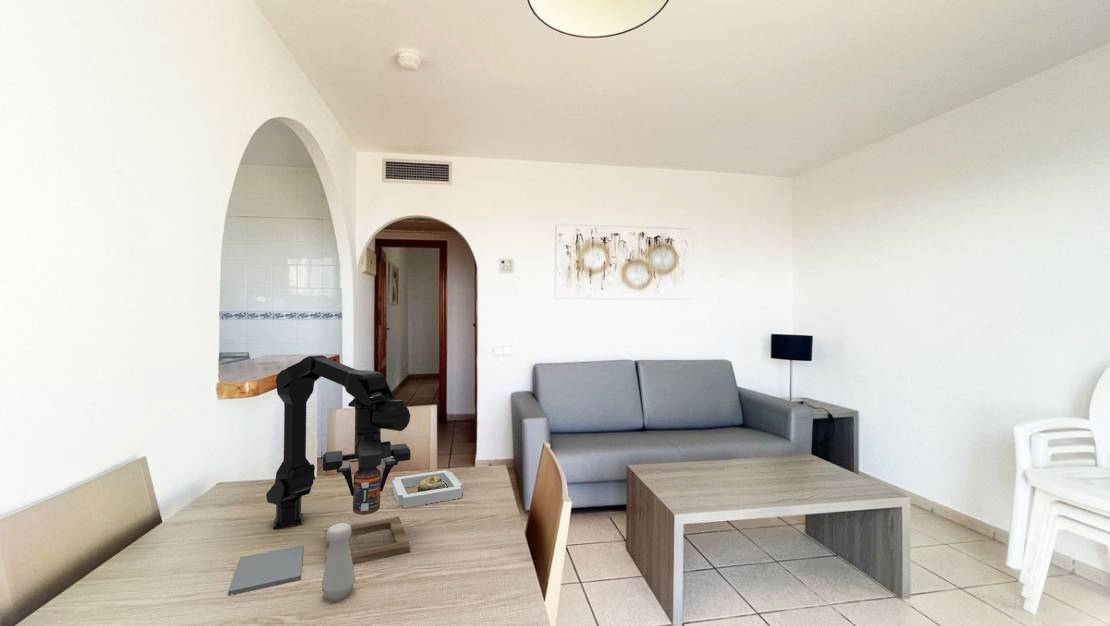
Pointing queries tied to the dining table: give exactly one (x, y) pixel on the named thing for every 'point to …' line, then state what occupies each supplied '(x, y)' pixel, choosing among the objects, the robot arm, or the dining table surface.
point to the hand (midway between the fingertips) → (367, 493)
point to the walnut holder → (382, 551)
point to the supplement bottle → (366, 490)
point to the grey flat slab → (267, 569)
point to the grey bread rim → (426, 496)
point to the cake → (430, 484)
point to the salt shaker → (338, 564)
